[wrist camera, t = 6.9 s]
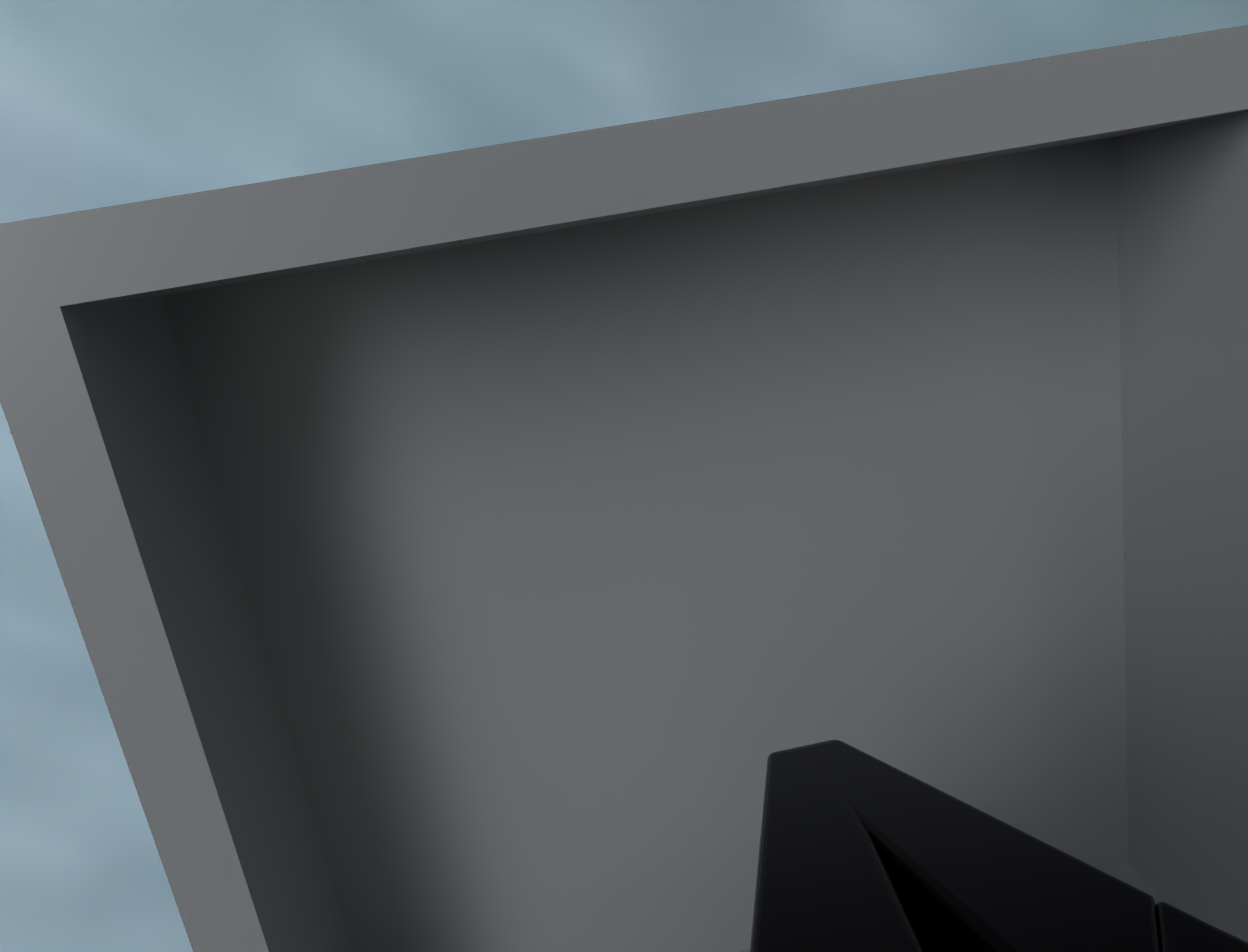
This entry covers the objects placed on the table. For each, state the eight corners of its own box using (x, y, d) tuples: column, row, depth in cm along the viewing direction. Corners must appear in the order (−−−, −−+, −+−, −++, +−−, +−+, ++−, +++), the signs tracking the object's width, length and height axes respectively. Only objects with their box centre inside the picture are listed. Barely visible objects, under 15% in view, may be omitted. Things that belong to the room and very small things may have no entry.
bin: (1150, 868, 15) (1299, 1013, 12) (346, 1050, 14) (299, 1255, 11) (1143, 71, 12) (1344, 9, 9) (95, 240, 11) (-60, 233, 8)
